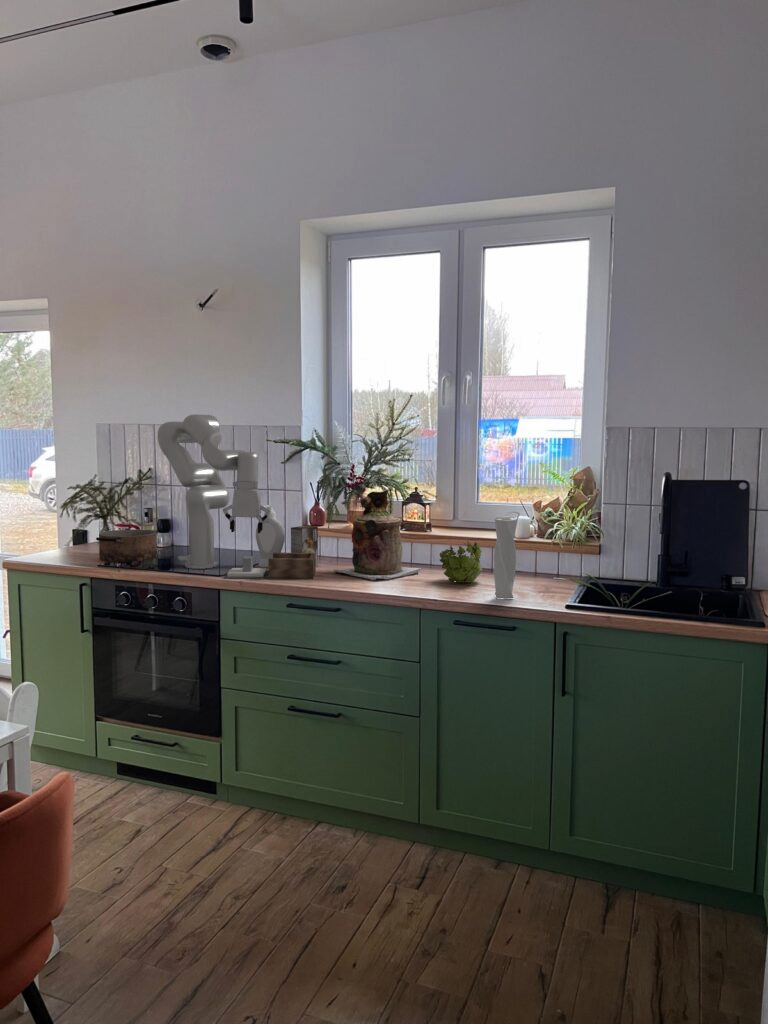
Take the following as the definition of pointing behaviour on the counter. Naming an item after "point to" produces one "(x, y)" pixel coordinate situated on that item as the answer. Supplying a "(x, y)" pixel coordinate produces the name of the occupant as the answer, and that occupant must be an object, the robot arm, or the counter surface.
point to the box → (292, 566)
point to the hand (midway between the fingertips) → (246, 532)
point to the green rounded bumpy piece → (462, 563)
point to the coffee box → (305, 540)
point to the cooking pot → (127, 545)
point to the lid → (247, 569)
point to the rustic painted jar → (377, 541)
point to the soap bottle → (270, 537)
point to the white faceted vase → (505, 556)
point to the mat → (248, 577)
